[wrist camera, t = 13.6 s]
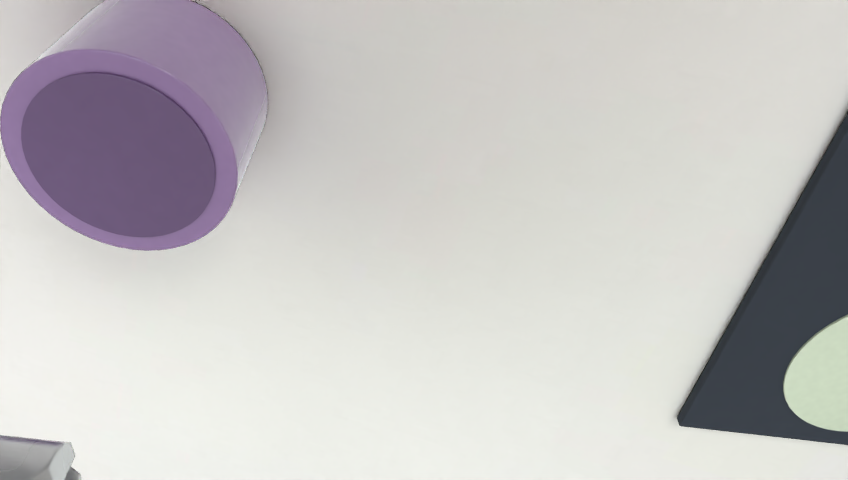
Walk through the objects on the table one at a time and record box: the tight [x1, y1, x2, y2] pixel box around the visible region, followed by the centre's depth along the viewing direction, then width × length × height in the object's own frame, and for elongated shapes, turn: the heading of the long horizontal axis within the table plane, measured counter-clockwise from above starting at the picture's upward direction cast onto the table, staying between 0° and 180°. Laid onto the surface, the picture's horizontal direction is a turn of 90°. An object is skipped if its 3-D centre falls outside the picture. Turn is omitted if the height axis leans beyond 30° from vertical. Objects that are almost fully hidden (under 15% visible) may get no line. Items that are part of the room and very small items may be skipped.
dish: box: [0, 0, 268, 251], centre depth 22 cm, size 6×6×5 cm
